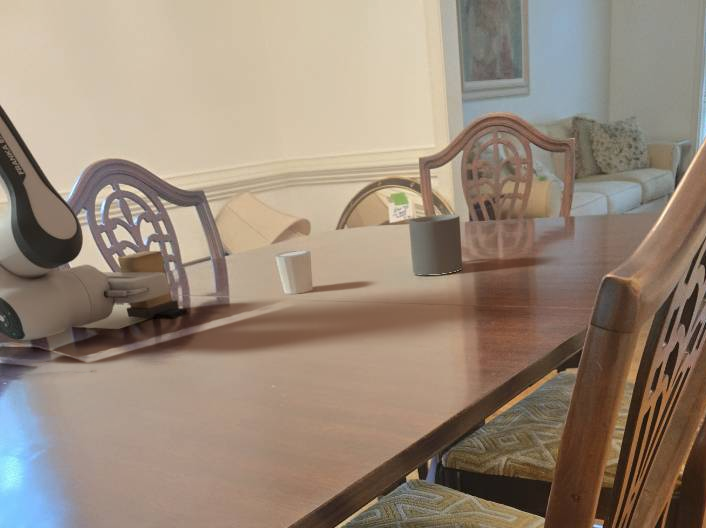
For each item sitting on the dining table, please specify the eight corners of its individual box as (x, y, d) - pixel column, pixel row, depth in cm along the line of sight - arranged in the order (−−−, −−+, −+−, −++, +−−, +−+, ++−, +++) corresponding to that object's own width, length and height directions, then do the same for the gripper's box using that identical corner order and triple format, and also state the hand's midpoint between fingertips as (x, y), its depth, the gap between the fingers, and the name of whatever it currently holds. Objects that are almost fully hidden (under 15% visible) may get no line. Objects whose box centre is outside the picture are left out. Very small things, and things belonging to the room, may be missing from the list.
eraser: (128, 316, 137) (113, 258, 132) (157, 307, 142) (143, 250, 137) (150, 317, 134) (135, 257, 130) (179, 308, 140) (165, 250, 135)
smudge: (156, 319, 136) (154, 313, 135) (172, 313, 138) (171, 308, 138) (172, 320, 134) (170, 314, 133) (188, 314, 137) (187, 308, 136)
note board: (37, 329, 141) (35, 324, 141) (105, 309, 153) (104, 304, 153) (119, 334, 131) (117, 328, 130) (185, 312, 143) (184, 306, 142)
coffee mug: (461, 273, 150) (458, 218, 146) (411, 277, 151) (406, 223, 147) (463, 262, 162) (460, 210, 157) (416, 266, 163) (412, 215, 158)
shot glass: (274, 294, 149) (268, 257, 146) (291, 287, 155) (286, 250, 151) (305, 294, 147) (299, 255, 143) (321, 286, 152) (316, 249, 149)
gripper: (124, 274, 119) (187, 257, 130) (41, 274, 129) (105, 258, 139) (135, 315, 122) (195, 296, 133) (52, 312, 132) (115, 294, 142)
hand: (148, 276), depth 136 cm, fingers closed on eraser, 4 cm apart
